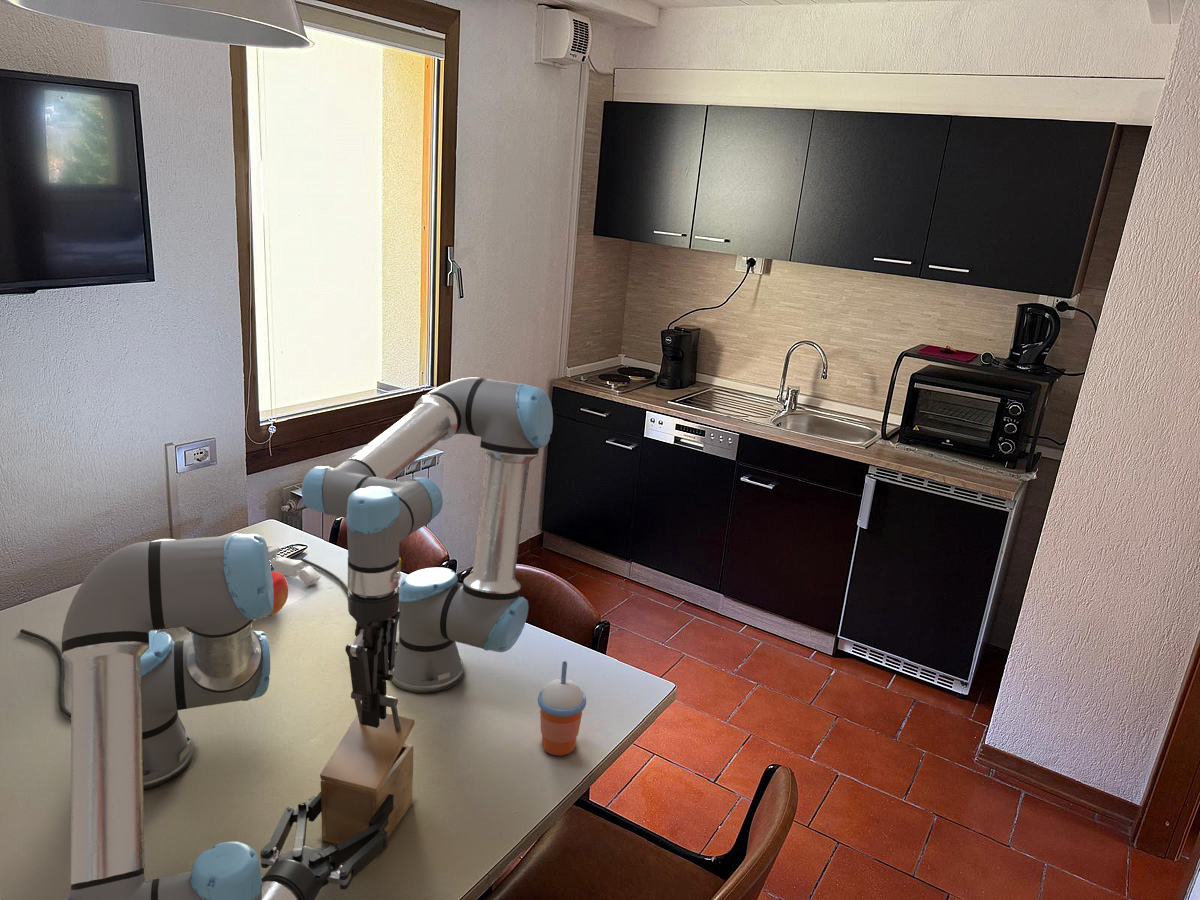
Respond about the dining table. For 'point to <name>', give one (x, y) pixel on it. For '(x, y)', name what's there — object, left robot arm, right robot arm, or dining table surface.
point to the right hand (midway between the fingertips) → (374, 720)
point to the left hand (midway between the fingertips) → (361, 794)
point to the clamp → (292, 567)
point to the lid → (368, 749)
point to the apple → (279, 592)
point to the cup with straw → (560, 714)
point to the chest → (366, 801)
